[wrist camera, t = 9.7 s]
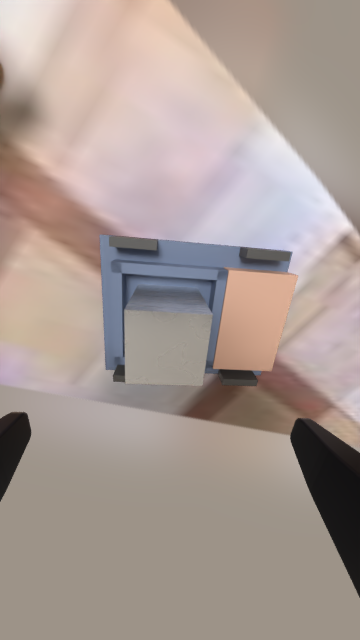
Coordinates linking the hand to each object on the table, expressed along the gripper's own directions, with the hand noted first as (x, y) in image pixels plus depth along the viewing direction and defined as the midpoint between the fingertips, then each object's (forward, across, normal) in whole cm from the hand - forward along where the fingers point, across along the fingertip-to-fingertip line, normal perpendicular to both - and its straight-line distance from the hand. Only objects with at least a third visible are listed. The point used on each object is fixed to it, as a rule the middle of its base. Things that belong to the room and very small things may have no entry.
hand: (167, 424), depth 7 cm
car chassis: (+12, -2, 0) cm, 12 cm away
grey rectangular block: (+11, 0, 0) cm, 11 cm away
